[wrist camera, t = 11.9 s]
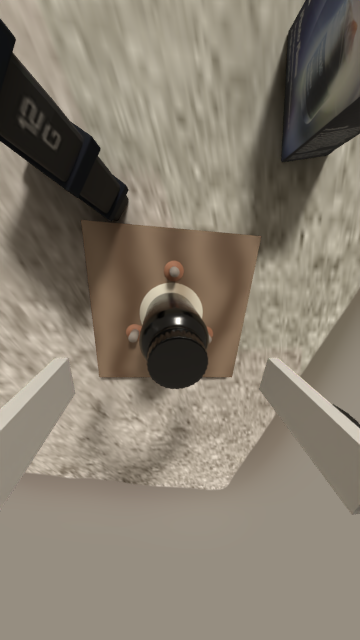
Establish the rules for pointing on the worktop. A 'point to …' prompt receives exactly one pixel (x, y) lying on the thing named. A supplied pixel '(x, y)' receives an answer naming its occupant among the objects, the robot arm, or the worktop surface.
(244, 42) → the worktop surface
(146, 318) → the supplement bottle
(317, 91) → the small box
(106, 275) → the board
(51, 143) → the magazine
